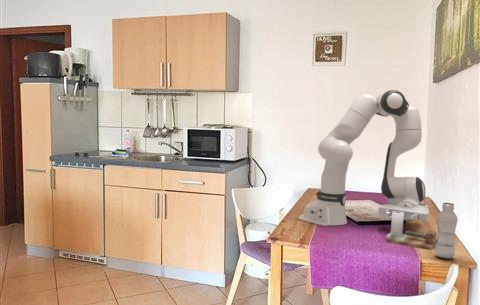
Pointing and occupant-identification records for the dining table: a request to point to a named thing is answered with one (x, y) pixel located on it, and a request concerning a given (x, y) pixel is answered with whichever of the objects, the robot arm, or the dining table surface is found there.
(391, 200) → the lumpy-topped squat cylinder
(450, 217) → the plastic bottle
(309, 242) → the dining table surface
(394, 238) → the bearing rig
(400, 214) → the spacer sleeve
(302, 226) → the dining table surface
